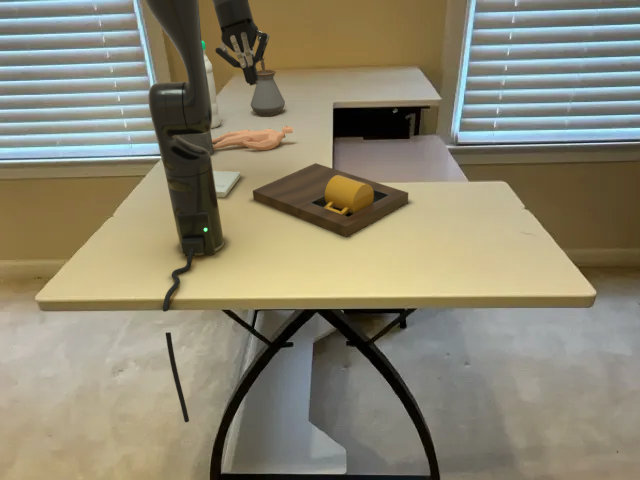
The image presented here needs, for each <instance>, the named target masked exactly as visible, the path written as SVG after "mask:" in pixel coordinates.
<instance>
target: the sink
mask: <svg viewBox="0 0 640 480" xmlns="http://www.w3.org/2000/svg"><path fill="white" fill-rule="evenodd" d="M373 192H374V198H373V203H372V204H371V205H373V204H375V203H377V202H378V201H380V200H382V199H384V198H386V197H388V196H390V194H387V193H384V192H380V191H377V190H374V189H373ZM310 204H313V205H316V206H318V207H321V208H324V207H325V206H326V205H327V203H326V201H325V195H324V196H322V197H320V198H318V199H316V200H314V201H312V202H310ZM371 205H369V206H371ZM369 206H367V207H369ZM367 207H365V208H367ZM332 208H333V207H332ZM365 208H364V209H365ZM324 209H326V208H324ZM333 209H336V208H333ZM364 209H362V210H364ZM326 210H329V209H326ZM336 210H338V209H336ZM362 210H360V211H362ZM329 211H331V210H329ZM338 211H341V210H338ZM360 211H358V212H360ZM332 212H334V211H332ZM358 212H356V213H358ZM334 213H337V212H334ZM356 213H354V214H356ZM337 214H339V213H337ZM354 214H349V213H347V214H346V215H342V214H340V215H342V216H345V217H348V218H349V217H350V216H352V215H354Z"/></svg>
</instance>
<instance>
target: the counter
mask: <svg viewBox="0 0 640 480" xmlns="http://www.w3.org/2000/svg"><path fill="white" fill-rule="evenodd" d="M336 175H341V176H344V177H347V178H350V179H353V180H356V181H359V182H362V183H365V184H369V185H370V186H371V187H372V189H374V190H377V191H380V192H384V193H387V194H390V196H388V197H386V198H384V199H382V200H380V201H378V202H377V203H375V204H373V205H371V206H369V207H367V208H365V209H364V210H362V211H360V212H358V213H356V214H354V215H352V216H350V217H349V218H348V217H345V216H342V215H340V214H337V213H334V212H332V211H329V210H326V209H324V208H321V207H318V206H316V205H313V204H310V202H312V201H314V200H316V199H318V198H320V197H322V196H324V195H325V189H326V186H327V184H328V182H329V181H330V180H331V179H332V178H333V177H334V176H336ZM252 198H253V201H254V202H258V203H260V204H263V205H264V206H265V205H266V206H267V207H270V208H273V209H275V210H278V211H280V212H283V213H284V214H287V215H290V216H293V217H294V218H297V219H300V220H303V221H305V222H307V223H310V224H312V225H315V226H318V227H320V228H323V229H325V230H328V231H331V232H333V233H336V234H338V235H340V236H342V237H345V238H347V237H349V236H351V235H353V234H355V233H356V232H358V231H360V230H362V229H363V228H366V227H367V226H368V225H371V224H372V223H374V222H376V221H378V220H380V219H381V218H383V217H385V216H386V215H388V214H390V213H392V212H394V211H396V210H398V209H399V208H402V206H405V205H406V204H408V203H409V192H407V191H404V190H401V189H399V188H395V187H391V186H389V185H385V184H382V183H379V182H377V181H373V180H370V179H366V178H365V177H360V176H357V175H354V174H352V173H348V172H345V171H342V170H338V169H336V168H332V167H329V166H326V165H323V164H320V163H316V162H315V163H313V164H310V165H307V166H306V167H303V168H301V169H299V170H296V171H294V172H292V173H290V174H287V175H285V176H283V177H281V178H278V179H276V180H273V181H271V182H269V183H267V184H264V185H262V186H260V187H257V188H255V189H253V190H252Z"/></svg>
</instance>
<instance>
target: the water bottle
mask: <svg viewBox="0 0 640 480" xmlns="http://www.w3.org/2000/svg"><path fill="white" fill-rule="evenodd" d="M202 48H203V55H204V61H205V68H206V74H207V81H208V87H209V93H210V100H211V108H212V125H211V129H216V128H218V127H219V126H220V125H221V119H220V118H221V117H220V114H219V106H218V105H219V104H218V102H217V89H216V82H215V77H214V72H213V70H214V69H213V64H212V62H211V61H210V60H209V57H208V56H207V54H206V49H207V48H206V42H205V41H204V40H202Z"/></svg>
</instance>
